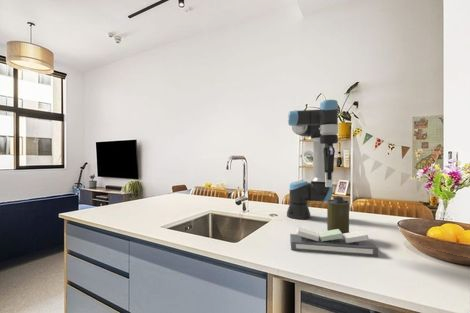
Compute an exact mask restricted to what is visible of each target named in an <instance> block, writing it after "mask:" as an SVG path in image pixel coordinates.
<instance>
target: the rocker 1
mask: <svg viewBox="0 0 470 313" xmlns="http://www.w3.org/2000/svg"><path fill="white" fill-rule="evenodd" d="M295 230H296V234H297V235H299V236H302V237H305V238H309V239H312V240H315V241H318V240H319V235H318V231H317V232H316V231H314V230H310V229H307V228H303V227H301V226H297V227H296V229H295Z"/></svg>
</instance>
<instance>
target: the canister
mask: <svg viewBox="0 0 470 313" xmlns="http://www.w3.org/2000/svg"><path fill="white" fill-rule="evenodd" d="M326 203H327V212H326V213H327V217H326V218H327V221H326V222H327V223H326V226H327V227H326V228H327V230H326V231H329V230H335V229H339V230H340V231H341V233H342V234H344V233H350V200H346V199H344V198H343V196H339V195H334V196H333V195H332V198H331V200H328V201H327V202H326Z"/></svg>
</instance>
